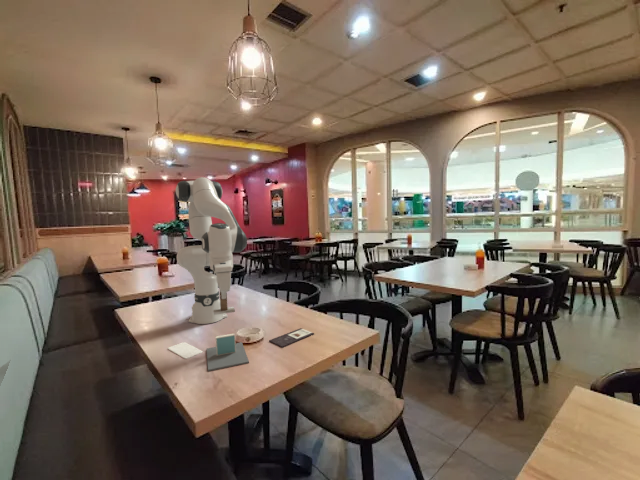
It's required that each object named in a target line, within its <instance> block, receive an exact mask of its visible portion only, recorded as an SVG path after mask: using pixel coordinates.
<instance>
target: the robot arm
mask: <svg viewBox="0 0 640 480" xmlns="http://www.w3.org/2000/svg"><path fill="white" fill-rule="evenodd" d="M175 194H176V197H177V199H178V200H179V201H181V202H184V203H187V202H188V203H189V205H188V211H187V212H188V215H187V216H188V224H189V234H190V235H191V236H192V237H193V238H194V239H196V240H199V241H201V245H199V244H196V245H188V246H184V247H182V248H180V249H179V250H178V251H177V253H176V261H177V264H178V265H179V266H180V267H181V268H183V269H185V270H186V271H187V272H188V273H189V274H190V275H191V277H192V280H193V284H194V292H195V293H194V297H193V299H194V303H193V304H192V306H191V311H192V312H191V316H190V318H189V319H188V323H193V324H197V325H198V324H199V325H207V324H212V323H216V322H220V321H221V320H223V319H225V318H227V317H228V313H224V314H217V315H214V310H213V309H221V306H220V292H221V298H222V299H226V292H227V293H228V292H230V291H231V290H230V289H231V281H232V278H231V277H232V272H233V268H234V258H233V257H234V256H233V253H241V252H242V251H244V250H245V249H246V248H247V246H248V239H247V238H248V237H247V235H246V233H245V232H244V230H243V229H242V228H241V225H240V224H239V223H238V221H237V218H236V217H235V215H234V212H233V211H232V209H231V207H230V206H229V205H228V204H226V203H225V202H223V200H221V199H222V196H223V188H222V184H221V183H220V182H218V181H214V180H211V179H209V178H208V177H201V176H200V177H197V178H196V179H194V180H181V181H178V183H177V184H176V187H175ZM212 218H216V219H219V220H221V221H223V222H224V223H223V222H222V223H218V222H217V223H213V221H212ZM205 267H209V269H210V270H212V271H213V272H209V271H206V269H205Z"/></svg>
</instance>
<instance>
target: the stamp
mask: <svg viewBox="0 0 640 480" xmlns="http://www.w3.org/2000/svg"><path fill="white" fill-rule="evenodd" d="M227 293H228V292H226V299H222V298H221V292H220V291H219V299H220V306H221V309H213V310H214V315H217V314H224V313H226V314H229V313H235V312H236V310H235V307H234V306H228V294H227Z"/></svg>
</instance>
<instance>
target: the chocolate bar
mask: <svg viewBox="0 0 640 480" xmlns="http://www.w3.org/2000/svg"><path fill="white" fill-rule="evenodd" d="M311 335H312V336H314V335H315V333H314V332H312V331H309V330H307V329H304V328H303V327H302V328H301V327H300V328H297V329H295V330H292V331H290V332H287V333H284V334H283V335H280V336H276V337H274V338H271V339H269V340H268V341H269V343H271V344H273V345H276V346H277V347H280V348H281V349H283V348H286V347H288V346H290V345H293V344H295V343H297V342H300V341H302V340H305V339H306V338H310V337H311Z"/></svg>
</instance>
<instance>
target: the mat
mask: <svg viewBox="0 0 640 480" xmlns="http://www.w3.org/2000/svg"><path fill="white" fill-rule="evenodd" d="M235 346H236V352H233V353H228V354H223V355H218V356H217V351H216V346H213V347H208V348H206V359H207V360H206V361H207V372H213V371H218V370H222V369H227V368H230V367H237V366H240V365H246V364H249V363H250V361H249V358H248V355H247V351H246V350H245V347H244V345H243V342H242V341H240V342H235Z"/></svg>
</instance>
